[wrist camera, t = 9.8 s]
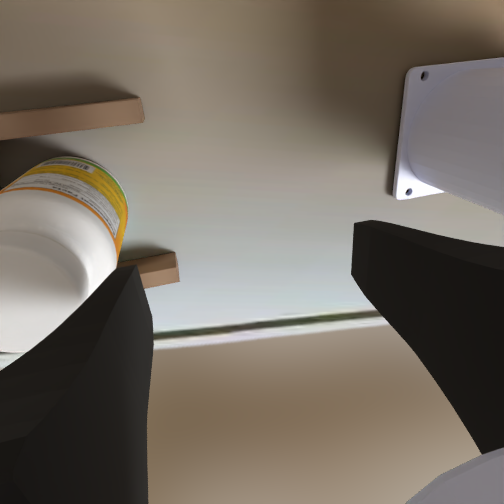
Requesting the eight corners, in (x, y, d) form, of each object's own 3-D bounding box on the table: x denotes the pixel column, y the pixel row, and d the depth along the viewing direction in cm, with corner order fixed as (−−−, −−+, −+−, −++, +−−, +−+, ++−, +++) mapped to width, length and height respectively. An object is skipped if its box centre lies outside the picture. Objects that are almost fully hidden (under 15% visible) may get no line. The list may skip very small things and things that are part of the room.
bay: (140, 97, 17) (137, 99, 15) (178, 265, 22) (179, 281, 20) (-58, 119, 16) (-85, 124, 14) (29, 294, 20) (16, 314, 19)
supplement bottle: (77, 263, 20) (18, 394, 12) (-3, 194, 18) (-151, 299, 9) (149, 212, 20) (140, 310, 12) (78, 133, 17) (1, 186, 9)
